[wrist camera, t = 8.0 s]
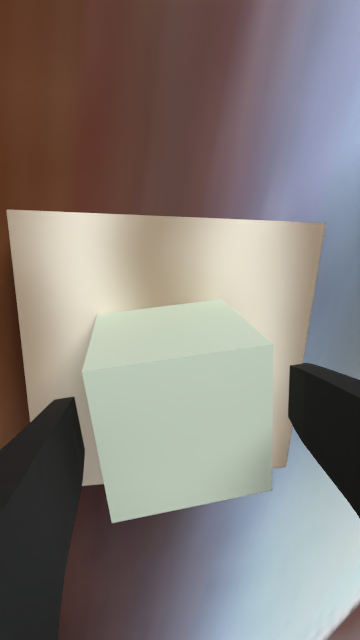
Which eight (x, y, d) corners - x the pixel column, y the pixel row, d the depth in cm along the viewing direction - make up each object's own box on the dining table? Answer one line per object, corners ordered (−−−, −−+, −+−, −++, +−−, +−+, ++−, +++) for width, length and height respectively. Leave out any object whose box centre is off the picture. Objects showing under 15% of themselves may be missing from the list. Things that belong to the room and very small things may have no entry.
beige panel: (281, 221, 17) (325, 223, 13) (255, 421, 21) (285, 467, 17) (35, 211, 15) (6, 209, 11) (55, 434, 19) (37, 490, 15)
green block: (221, 298, 13) (273, 343, 9) (226, 404, 15) (272, 490, 10) (97, 314, 13) (81, 371, 8) (115, 422, 14) (111, 523, 10)
